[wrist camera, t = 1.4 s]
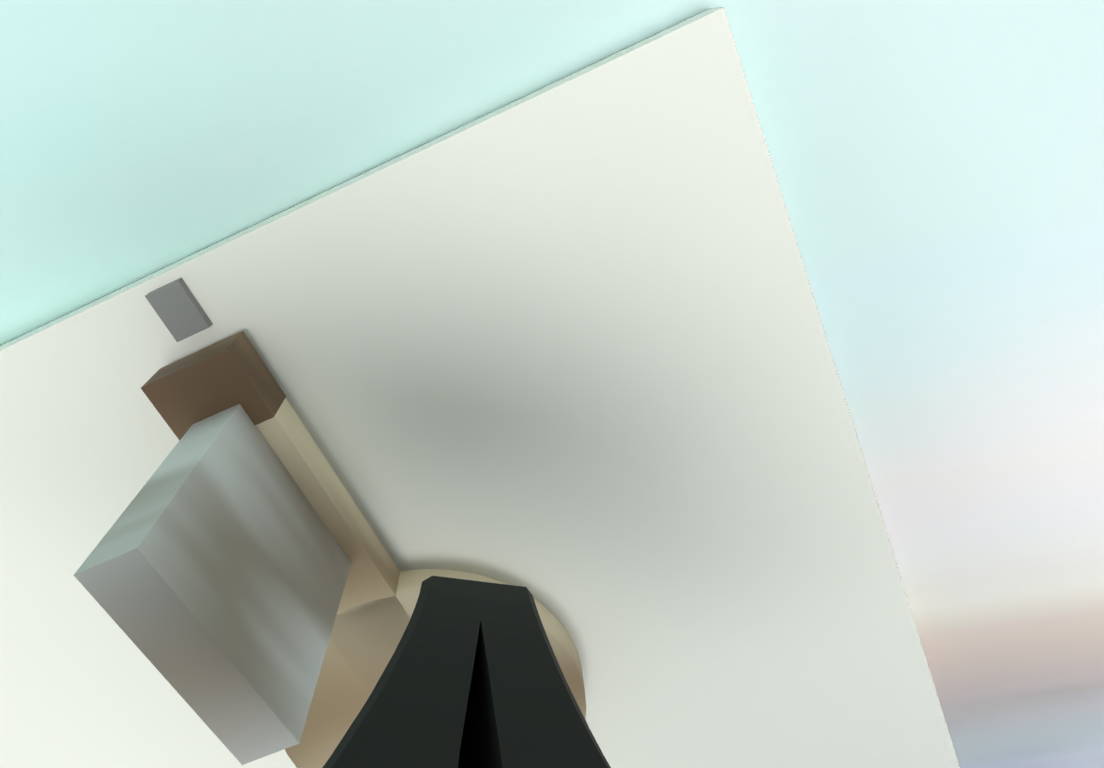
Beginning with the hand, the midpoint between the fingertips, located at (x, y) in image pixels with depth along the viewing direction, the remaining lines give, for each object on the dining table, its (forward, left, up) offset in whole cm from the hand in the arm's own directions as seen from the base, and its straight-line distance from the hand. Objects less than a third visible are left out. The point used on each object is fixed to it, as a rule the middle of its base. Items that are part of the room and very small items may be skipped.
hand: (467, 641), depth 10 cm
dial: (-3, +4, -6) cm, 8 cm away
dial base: (-6, +4, -7) cm, 10 cm away
